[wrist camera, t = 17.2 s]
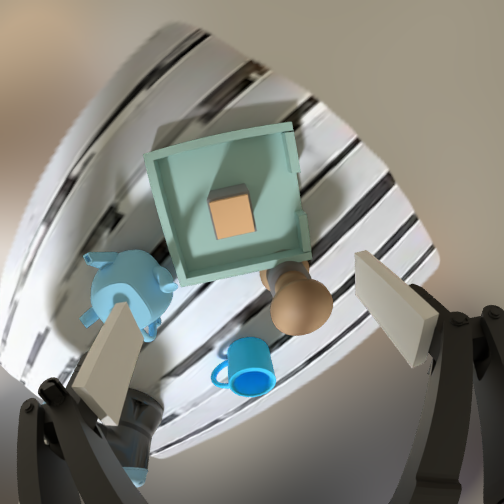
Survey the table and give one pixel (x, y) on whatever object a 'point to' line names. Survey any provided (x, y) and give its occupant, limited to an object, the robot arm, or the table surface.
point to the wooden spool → (296, 298)
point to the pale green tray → (223, 175)
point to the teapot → (129, 288)
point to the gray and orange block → (231, 211)
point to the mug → (247, 368)
